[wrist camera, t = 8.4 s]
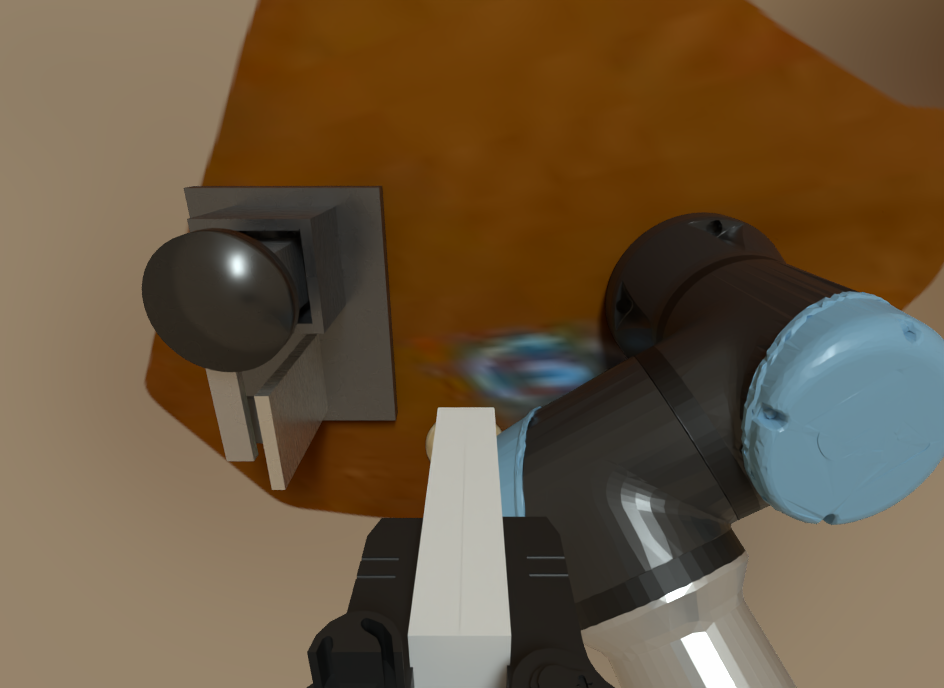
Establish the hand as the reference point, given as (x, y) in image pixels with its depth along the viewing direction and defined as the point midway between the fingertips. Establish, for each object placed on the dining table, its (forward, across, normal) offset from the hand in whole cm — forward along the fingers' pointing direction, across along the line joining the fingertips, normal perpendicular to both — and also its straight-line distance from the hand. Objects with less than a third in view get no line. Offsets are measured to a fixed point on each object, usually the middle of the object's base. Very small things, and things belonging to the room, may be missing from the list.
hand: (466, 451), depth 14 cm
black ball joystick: (+27, +16, +6) cm, 31 cm away
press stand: (+32, +16, +7) cm, 37 cm away
